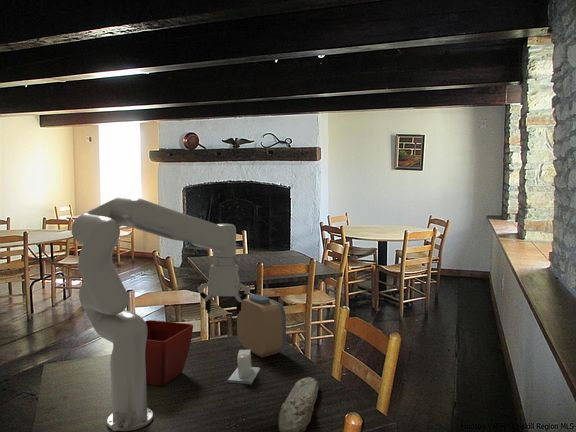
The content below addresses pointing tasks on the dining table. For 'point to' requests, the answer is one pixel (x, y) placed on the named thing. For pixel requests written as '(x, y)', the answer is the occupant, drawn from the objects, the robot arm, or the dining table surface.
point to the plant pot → (166, 350)
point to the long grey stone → (298, 406)
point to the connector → (244, 363)
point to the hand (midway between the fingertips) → (223, 312)
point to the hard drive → (249, 380)
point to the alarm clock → (261, 325)
